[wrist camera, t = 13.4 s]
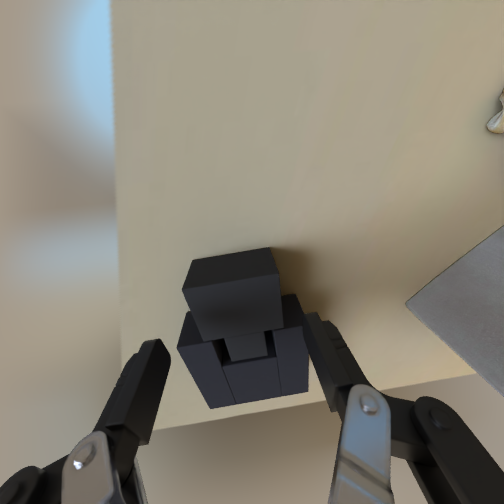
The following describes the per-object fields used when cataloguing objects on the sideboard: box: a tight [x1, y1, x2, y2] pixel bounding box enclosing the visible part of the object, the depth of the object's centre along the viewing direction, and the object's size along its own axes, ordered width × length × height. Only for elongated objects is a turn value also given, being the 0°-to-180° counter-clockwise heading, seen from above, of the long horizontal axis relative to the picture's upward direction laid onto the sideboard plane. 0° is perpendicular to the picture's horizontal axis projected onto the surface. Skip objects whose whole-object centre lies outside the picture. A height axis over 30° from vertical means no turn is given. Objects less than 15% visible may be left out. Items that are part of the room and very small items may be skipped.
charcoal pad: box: [177, 294, 309, 409], centre depth 18 cm, size 10×10×4 cm
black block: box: [182, 247, 284, 361], centre depth 15 cm, size 6×8×4 cm
